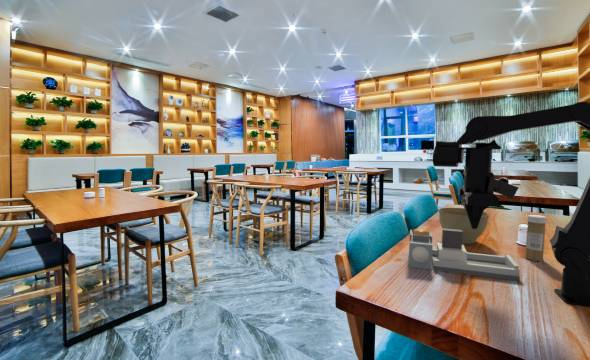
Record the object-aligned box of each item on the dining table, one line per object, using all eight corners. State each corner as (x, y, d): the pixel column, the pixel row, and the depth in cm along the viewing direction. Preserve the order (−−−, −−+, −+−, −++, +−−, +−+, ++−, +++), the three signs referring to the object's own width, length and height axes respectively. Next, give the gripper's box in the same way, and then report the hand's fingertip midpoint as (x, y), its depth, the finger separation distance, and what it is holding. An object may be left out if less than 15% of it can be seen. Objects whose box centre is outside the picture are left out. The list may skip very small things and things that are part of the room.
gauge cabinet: (431, 270, 86) (432, 239, 85) (408, 267, 88) (409, 237, 87) (429, 256, 98) (431, 229, 97) (409, 253, 100) (410, 227, 99)
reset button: (428, 239, 90) (428, 232, 90) (413, 238, 91) (413, 231, 91) (427, 236, 94) (428, 229, 93) (413, 234, 95) (413, 228, 95)
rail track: (519, 281, 79) (520, 268, 79) (433, 269, 86) (434, 258, 86) (506, 264, 90) (507, 253, 90) (431, 256, 97) (432, 245, 97)
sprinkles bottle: (545, 259, 95) (549, 216, 93) (539, 262, 92) (543, 217, 91) (528, 255, 98) (531, 213, 97) (521, 258, 96) (525, 215, 95)
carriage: (466, 266, 85) (467, 234, 85) (438, 262, 88) (439, 231, 87) (462, 258, 92) (464, 228, 91) (436, 255, 94) (438, 226, 94)
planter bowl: (472, 250, 104) (474, 218, 103) (428, 238, 117) (429, 210, 116) (495, 242, 112) (497, 212, 111) (452, 232, 126) (453, 206, 125)
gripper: (528, 170, 67) (523, 241, 68) (505, 166, 84) (501, 223, 86) (469, 169, 71) (466, 236, 72) (459, 165, 88) (456, 220, 90)
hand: (474, 228), depth 80 cm, fingers closed
